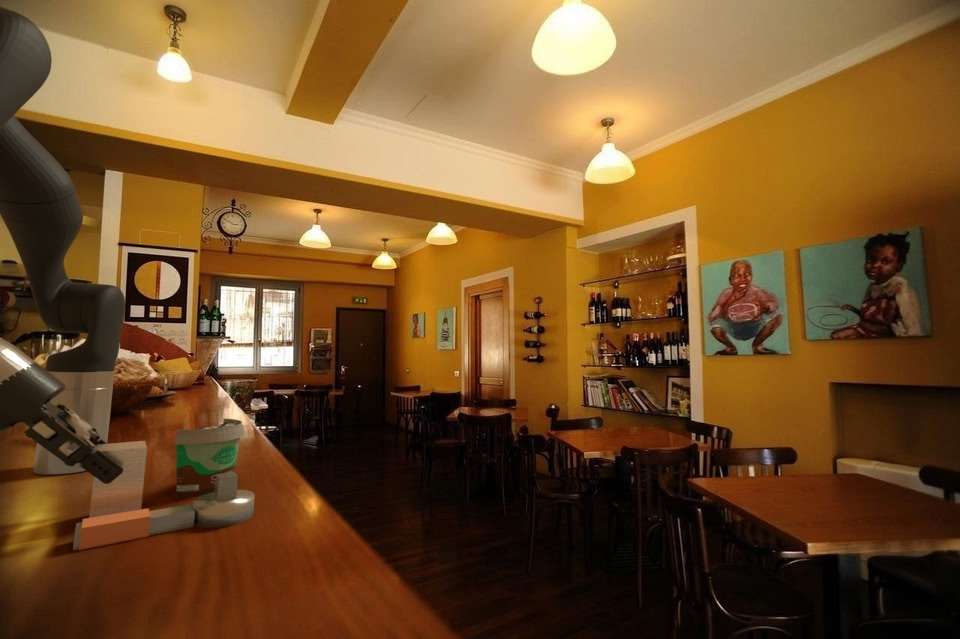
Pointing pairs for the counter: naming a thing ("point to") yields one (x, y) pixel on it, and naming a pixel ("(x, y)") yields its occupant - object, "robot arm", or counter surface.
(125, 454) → the white upright block
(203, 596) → the counter surface
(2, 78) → the robot arm
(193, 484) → the food container
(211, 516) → the ratchet
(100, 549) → the counter surface
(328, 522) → the counter surface
